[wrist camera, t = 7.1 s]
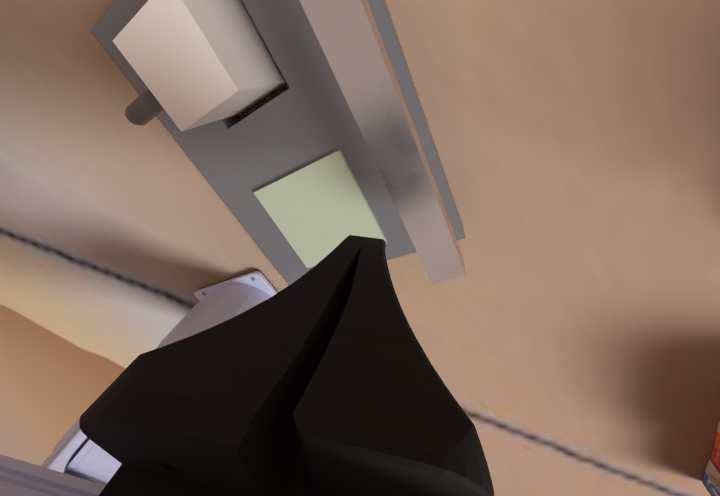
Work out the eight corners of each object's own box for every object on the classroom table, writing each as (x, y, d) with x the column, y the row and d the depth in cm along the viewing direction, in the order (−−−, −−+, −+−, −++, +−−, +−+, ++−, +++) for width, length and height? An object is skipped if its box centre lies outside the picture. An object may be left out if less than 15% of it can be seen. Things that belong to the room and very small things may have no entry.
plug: (206, 136, 19) (141, 160, 15) (163, 76, 17) (74, 83, 13) (289, 81, 16) (238, 90, 12) (246, 1, 14) (168, -23, 10)
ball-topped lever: (258, -90, 8) (227, -117, 7) (324, -160, 7) (302, -206, 6) (423, 265, 14) (423, 285, 13) (470, 253, 13) (475, 273, 12)
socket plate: (296, 276, 25) (268, 325, 21) (114, 32, 16) (-5, 23, 12) (463, 226, 19) (475, 279, 15) (316, -199, 10) (231, -396, 6)
